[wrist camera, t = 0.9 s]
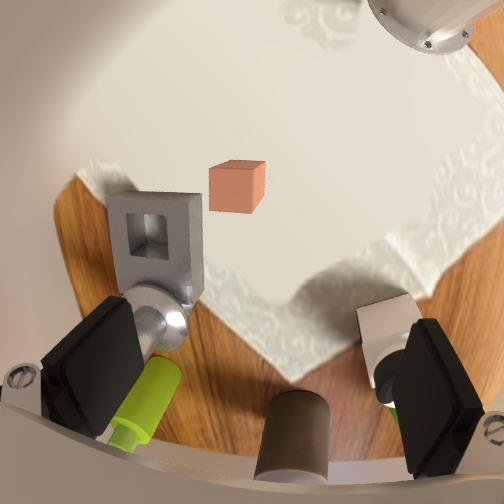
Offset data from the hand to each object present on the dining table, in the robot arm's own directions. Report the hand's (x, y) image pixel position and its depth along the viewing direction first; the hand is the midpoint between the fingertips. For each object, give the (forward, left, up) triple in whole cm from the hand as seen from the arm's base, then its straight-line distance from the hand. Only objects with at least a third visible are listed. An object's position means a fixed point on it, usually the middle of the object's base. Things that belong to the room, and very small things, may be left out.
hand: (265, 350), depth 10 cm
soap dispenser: (+29, -17, -25) cm, 41 cm away
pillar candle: (+33, +4, -25) cm, 41 cm away
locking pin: (-1, -5, -24) cm, 25 cm away
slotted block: (+10, -15, -24) cm, 30 cm away
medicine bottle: (+15, +13, -25) cm, 31 cm away
